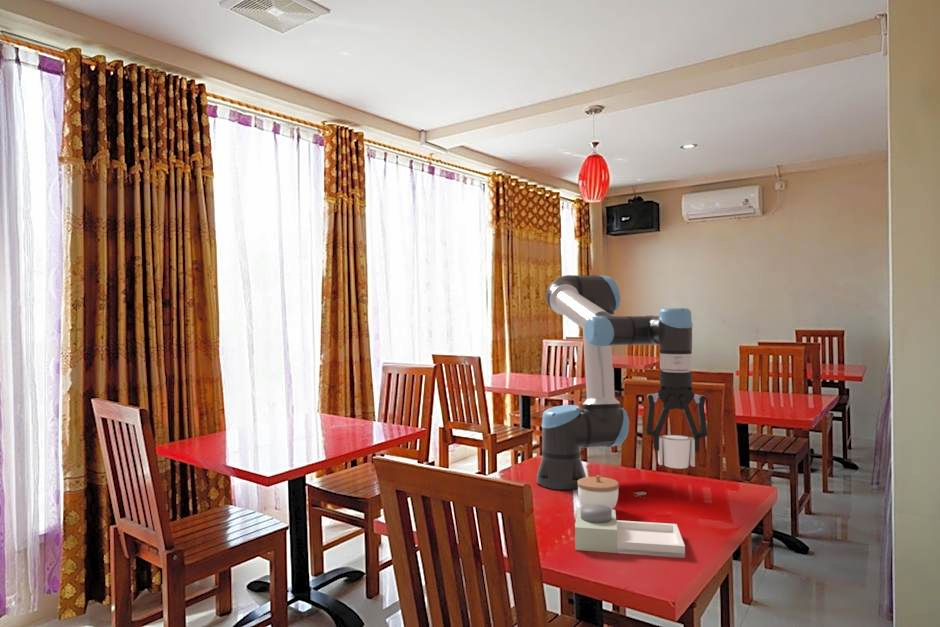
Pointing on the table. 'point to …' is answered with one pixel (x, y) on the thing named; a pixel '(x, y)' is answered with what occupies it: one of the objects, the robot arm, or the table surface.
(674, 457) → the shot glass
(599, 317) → the robot arm
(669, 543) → the knobbed tray panel
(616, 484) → the lidded jar
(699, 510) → the table surface
